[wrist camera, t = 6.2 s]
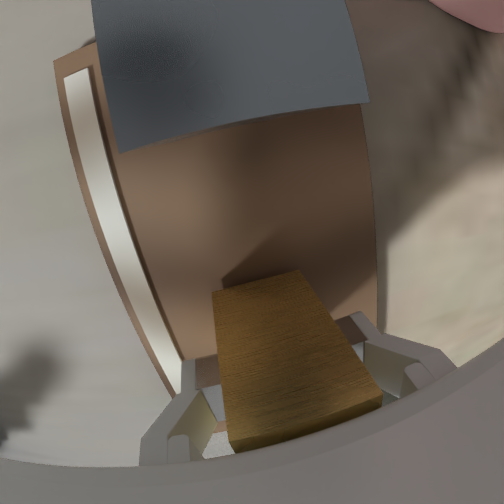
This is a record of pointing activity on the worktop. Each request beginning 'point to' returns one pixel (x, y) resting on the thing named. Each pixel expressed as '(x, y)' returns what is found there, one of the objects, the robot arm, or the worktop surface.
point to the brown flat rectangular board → (221, 213)
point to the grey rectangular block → (221, 64)
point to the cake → (476, 12)
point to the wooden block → (285, 364)
